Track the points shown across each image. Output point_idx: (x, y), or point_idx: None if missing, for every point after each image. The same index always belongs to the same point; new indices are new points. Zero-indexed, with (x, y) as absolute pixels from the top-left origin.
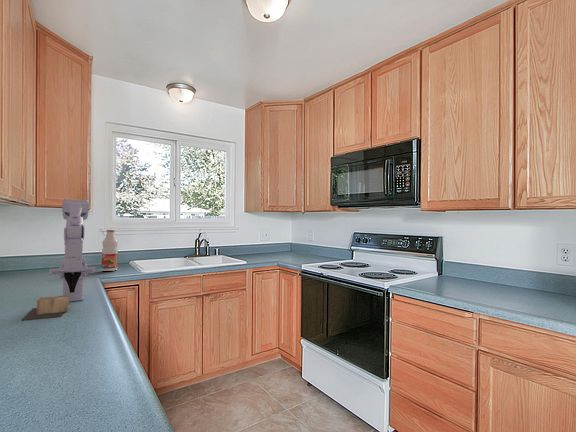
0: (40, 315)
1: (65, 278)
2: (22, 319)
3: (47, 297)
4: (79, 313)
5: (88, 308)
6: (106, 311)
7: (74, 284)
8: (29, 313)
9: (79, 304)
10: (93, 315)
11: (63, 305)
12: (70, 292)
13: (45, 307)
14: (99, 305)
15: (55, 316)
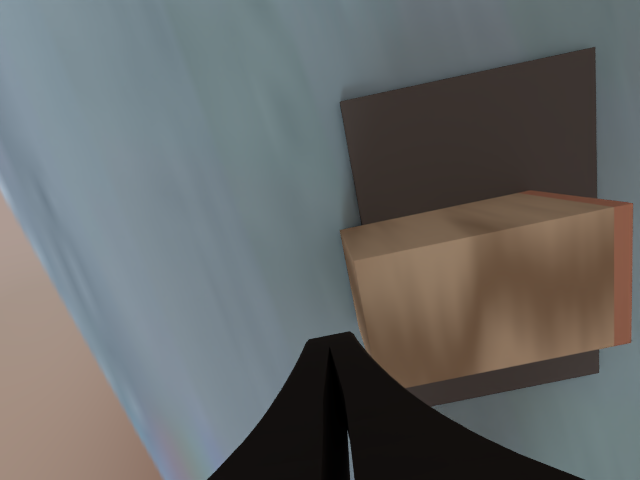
0: (495, 149)
1: (525, 462)
2: (591, 54)
3: (563, 329)
4: (231, 174)
5: (218, 311)
6: (36, 190)
7: (290, 400)
8: None
9: None
10: (91, 81)
11: (372, 236)
12: (345, 334)
13: (504, 206)
14: (169, 382)
15: (376, 94)
